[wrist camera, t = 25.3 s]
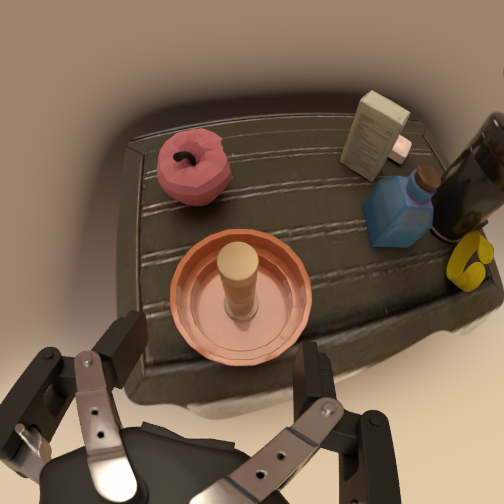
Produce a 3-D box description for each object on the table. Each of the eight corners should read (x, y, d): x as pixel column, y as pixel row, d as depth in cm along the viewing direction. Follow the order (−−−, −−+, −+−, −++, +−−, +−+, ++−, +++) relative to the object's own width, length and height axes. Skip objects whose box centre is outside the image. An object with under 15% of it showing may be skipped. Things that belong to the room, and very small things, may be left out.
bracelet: (453, 289, 33) (439, 278, 34) (474, 243, 32) (460, 232, 33) (477, 295, 26) (462, 282, 27) (500, 241, 25) (485, 228, 26)
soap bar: (364, 125, 43) (368, 115, 41) (407, 150, 41) (412, 141, 39) (354, 138, 41) (358, 128, 39) (400, 166, 39) (406, 157, 37)
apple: (237, 219, 35) (234, 168, 26) (170, 229, 34) (146, 183, 25) (227, 162, 39) (223, 109, 29) (168, 172, 38) (151, 121, 29)
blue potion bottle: (363, 205, 36) (398, 149, 25) (399, 208, 36) (440, 158, 25) (370, 246, 34) (415, 196, 23) (408, 247, 34) (458, 203, 23)
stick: (257, 289, 31) (265, 233, 18) (258, 321, 29) (268, 288, 17) (224, 290, 31) (209, 234, 18) (224, 322, 29) (207, 289, 16)
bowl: (295, 250, 34) (304, 228, 28) (303, 362, 29) (316, 361, 23) (186, 252, 33) (174, 230, 28) (182, 364, 28) (168, 364, 23)
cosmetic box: (381, 168, 39) (413, 113, 28) (371, 184, 38) (405, 126, 27) (348, 146, 41) (371, 88, 29) (336, 160, 39) (360, 99, 28)
